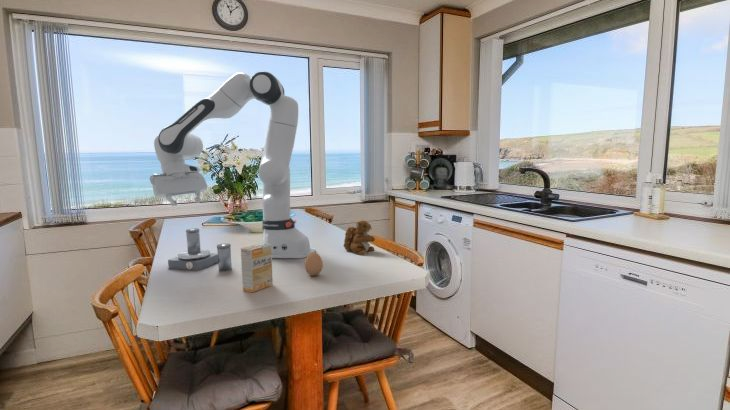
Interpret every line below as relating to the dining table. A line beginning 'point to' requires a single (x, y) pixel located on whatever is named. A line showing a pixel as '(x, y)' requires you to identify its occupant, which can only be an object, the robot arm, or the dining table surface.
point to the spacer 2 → (224, 257)
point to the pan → (196, 256)
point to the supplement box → (256, 267)
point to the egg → (313, 264)
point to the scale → (193, 262)
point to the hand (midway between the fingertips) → (187, 203)
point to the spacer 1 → (193, 241)
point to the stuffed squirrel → (359, 238)
